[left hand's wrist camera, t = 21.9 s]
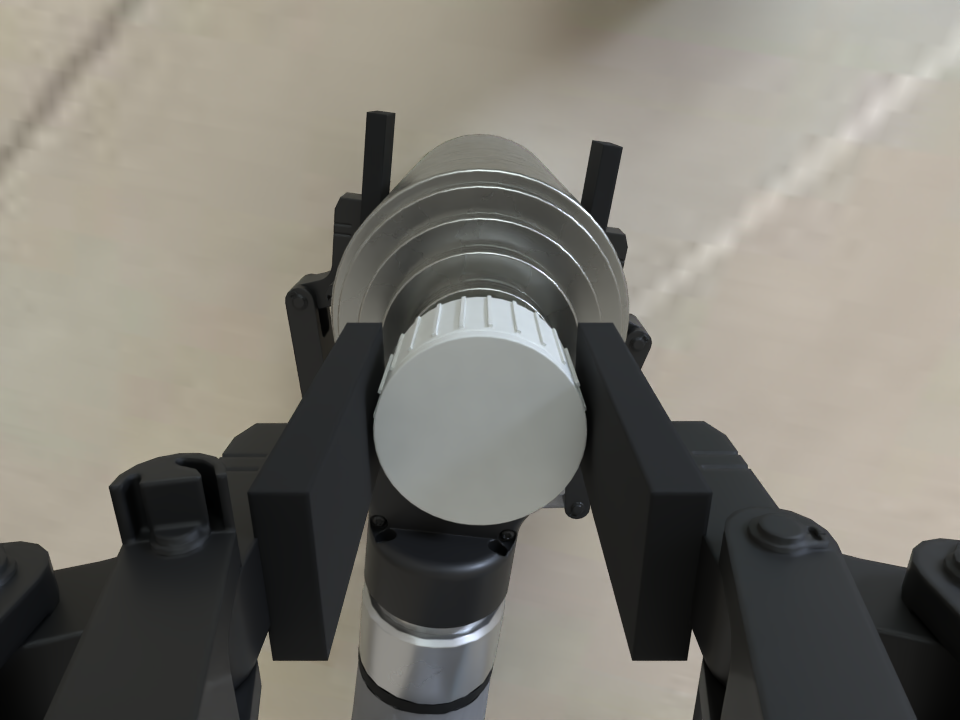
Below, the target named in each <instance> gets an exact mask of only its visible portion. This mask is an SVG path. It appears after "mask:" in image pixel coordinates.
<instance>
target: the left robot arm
mask: <svg viewBox="0 0 960 720" xmlns="http://www.w3.org/2000/svg"><path fill="white" fill-rule="evenodd" d="M384 372H385V363H384V345H383V328H382V323H346V325H345V327H344V329H343V330H342V332H341V334H340V335H339V337H338V339H337V340H336V342H335V344H334V346H333V347H332V349H331V351H330V352H329V354H328V356H327V357H326V359H325V361H324V363H323V364H322V366H321V368H320V369H319V371H318V373H317V374H316V376H315V378H314V380H313V381H312V383H311V385H310V386H309V388H308V390H307V391H306V393H305V395H304V397H303V398H302V400H301V402H300V403H299V405H298V407H297V408H296V410H295V412H294V414H293V415H292V417H291V419H290V420H289V422H288V423H256V424H255V425H253V426H251V427H250V428H248V429H247V430H245V431H244V432H242V433H241V434H239V435H238V436H236V437H234V439H233V440H232V441H231V443H230V444H229V446H228V447H227V448H226V450H225V451H224V453H223V456H222V457H220V458H219V459H218V458H216V457H214V456H210V455H206V454H201V453H178V454H173V455H168V456H162V457H157V458H154V459H152V460H149V461H146V462H143V463H140V464H138V465H136V466H134V467H132V468H131V469H129V470H127V471H125V472H124V473H122V474H120V475H119V476H118V477H117V478H116V479H115V480H114V481H113V483H112V484H111V485H110V486H109V490H110V494H111V498H112V502H113V507H114V511H115V515H116V519H117V523H118V527H119V531H120V535H121V539H122V543H123V545H122V547H121V549H120V552H119V554H118V556H117V557H115V558H111V559H108V560H104V561H100V562H95V563H90V564H85V565H80V566H75V567H70V568H65V569H60V570H55V571H54V570H53V567H52V564H51V560H50V557H49V554H48V552H47V551H46V550H45V549H44V548H42V547H41V546H40V545H39V544H34V543H28V542H22V541H19V542H8V543H0V720H258V714H259V704H260V695H261V679H260V673H259V667H258V661H257V658H258V656H259V653H260V651H261V648H262V645H263V643H264V640H265V638H266V635H267V633H268V632H269V638H270V645H271V651H272V658H273V661H328V658H329V654H330V650H331V646H332V643H333V639H334V635H335V632H336V628H337V624H338V621H339V617H340V613H341V609H342V606H343V602H344V598H345V595H346V591H347V587H348V584H349V580H350V576H351V572H352V569H353V565H354V561H355V558H356V554H357V550H358V546H359V543H360V539H361V535H362V532H363V528H364V524H365V521H366V517H367V513H368V509H369V506H370V502H371V498H372V495H373V491H374V487H375V484H376V480H377V476H378V472H379V469H380V462H379V459H378V456H377V453H376V450H375V444H374V439H373V423H374V418H373V414H374V411H375V408H376V405H377V402H378V399H379V396H380V394H379V393H377V392H378V389H379V387H380V384H381V381H382V378H383V375H384ZM575 372H576V375H577V378H578V380H579V383H580V386H579V387H580V390H581V393H582V396H583V399H584V402H585V405H586V409H587V410H586V411H585V414H586V419H587V440H586V447H585V451H584V455H583V458H582V460H581V463H580V469H581V472H582V476H583V480H584V484H585V487H586V491H587V495H588V498H589V502H590V506H591V509H592V513H593V517H594V521H595V524H596V528H597V532H598V535H599V539H600V543H601V547H602V550H603V554H604V558H605V561H606V565H607V569H608V572H609V576H610V580H611V584H612V587H613V591H614V595H615V598H616V602H617V606H618V609H619V613H620V617H621V621H622V624H623V628H624V632H625V635H626V639H627V643H628V647H629V650H630V654H631V658H632V661H687V658H688V651H689V645H690V638H691V632H692V630H693V632H694V635H695V637H696V640H697V642H698V645H699V647H700V650H701V652H702V655H703V661H702V667H701V673H700V679H699V685H698V691H697V697H696V703H695V709H694V715H693V720H960V540H952V539H942V538H939V539H933V540H927V541H922V542H921V543H920V544H918V545H917V546H916V547H915V548H913V550H912V553H911V557H910V560H909V564H908V567H907V568H905V567H900V566H895V565H890V564H885V563H880V562H875V561H870V560H865V559H860V558H856V557H852V556H848V555H844V554H842V553H841V550H840V548H839V546H838V544H837V542H836V541H835V540H834V539H833V537H832V536H831V535H830V533H829V532H828V531H827V530H826V529H824V528H823V527H821V526H820V525H818V524H817V523H815V522H814V521H813V520H811V519H809V518H806V517H804V516H802V515H799V514H797V513H794V512H792V511H788V510H783V509H779V508H778V506H777V505H776V504H775V502H774V501H773V499H772V498H771V497H770V495H769V494H768V493H767V491H766V490H765V488H764V487H763V486H762V484H761V483H760V482H759V480H758V479H757V477H756V476H755V475H754V473H753V472H752V471H751V469H748V465H747V464H746V462H745V461H744V459H743V458H742V457H741V455H738V451H737V450H736V448H735V447H734V446H733V444H732V443H731V442H730V440H729V439H728V437H727V436H726V435H725V434H723V433H722V432H720V431H718V430H717V429H715V428H714V427H712V426H711V425H709V424H707V423H706V422H704V421H671V420H670V419H669V417H668V415H667V414H666V412H665V410H664V408H663V407H662V405H661V403H660V402H659V400H658V398H657V397H656V395H655V393H654V391H653V390H652V388H651V386H650V385H649V383H648V381H647V380H646V378H645V376H644V374H643V373H642V371H641V369H640V368H639V366H638V364H637V363H636V361H635V359H634V357H633V356H632V354H631V352H630V351H629V349H628V347H627V346H626V344H625V342H624V340H623V339H622V337H621V335H620V334H619V332H618V330H617V329H616V327H615V325H614V323H578V328H577V345H576V362H575Z"/></svg>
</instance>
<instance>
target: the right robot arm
mask: <svg viewBox="0 0 960 720" xmlns="http://www.w3.org/2000/svg"><path fill="white" fill-rule="evenodd" d="M394 125H395V113H390V112H383V111H371V112H367V118H366V135H365V151H364V167H363V183H362V194H354V193H345V194H344V195H343V196H341V197H340V199H339V201H338V203H337V205H336V207H335V215H334V236H333V257H332V268H331V271H328V272H325V273H321V274H308V275H305V276H304V277H303V278H302V279H301V280H300V281H299V282H298V283H297V284H296V285H295V286H294V287H293V288H292V289H291V290H290V291H289V292H288V293H287V295H286V297H285V304H286V309H287V315H288V320H289V326H290V332H291V337H292V343H293V348H294V354H295V360H296V365H297V371H298V376H299V382H300V388H301V393H302V398H303V397H304V395H305V393H306V391H307V390H308V388H309V386H310V385H311V383H312V381H313V380H314V378H315V376H316V374H317V373H318V371H319V369H320V368H321V366H322V364H323V363H324V361H325V359H326V357H327V356H328V354H329V352H330V351H331V349H332V347H333V346H334V344H335V341H334V335H333V329H332V322H331V315H330V308H329V307H330V306H331V300H332V291H333V284H334V280H335V276H336V272H337V268H338V266H339V263H340V261H341V258H342V256H343V254H344V251H345V249H346V247H347V246H348V244H349V242H350V240H351V239H352V237H353V235H354V234H355V232H356V231H357V230H358V228H359V227H360V226H361V224H362V223H363V222H364V221H365V219H366V218H367V217H368V216H369V215H370V214H371V213H372V212H373V211H374V209H375V208H376V207H377V206H378V205H379V204H380V203H381V202H382V201H383V200H384V199H385V198H386V197H387V196H388V194H389V190H390V177H391V164H392V151H393V138H394ZM622 149H623V147H621V146H618V145H615V144H612V143H609V142H601V141H594V140H592V145H591V150H590V156H589V161H588V167H587V172H586V178H585V183H584V189H583V194H582V199H581V205H582V206H583V207H584V208H585V209H586V210H587V211H588V212H589V214H590V215H591V216H592V217H593V218H594V219H595V221H596V222H597V223H598V224H599V225H600V227H601V228H602V229H603V230H604V232H605V234H606V235H607V237H608V238H609V240H610V242H611V243H612V245H613V247H614V249H615V251H616V253H617V256H618V258H619V260H620V263H621V265H622V269H623V267H624V261H625V257H626V253H627V248H628V246H627V241H626V235H625V234H624V233H623V232H622V231H621V230H620V229H619V228H612V227H607V224H608V219H609V214H610V209H611V204H612V199H613V194H614V189H615V184H616V179H617V174H618V169H619V164H620V159H621V154H622ZM625 344H626V346H627V347H628V349H629V351H630V352H631V354H632V356H633V357H634V359H635V361H636V363H637V364H638V366H639V368H640V369H641V368H642V366H643V363H644V361H645V359H646V357H647V355H648V352H649V350H650V348H651V344H652V341H651V337H650V336H649V335H648V333H647V332H646V330H645V329H644V327H643V326H642V324H641V323H640V322H639V320H638V319H637V318H636V316H634V315H632V314H629V323H628V330H627V337H626V341H625ZM542 508H565V513H566V514H567V515H568V516H569V517H571V518H573V519H580V518H583V517H585V516H586V515H587V514H588V513H589V510H590V502H589V498H588V495H587V491H586V487H585V484H584V480H583V476H582V472H581V469H580V465H579V468H578V469H577V471H576V473H575V475H574V476H573V478H572V480H571V481H570V482H569V483H568V485H567V486H566V487H565V489H564V490H563V491H562V492H561V493H560V494H559V495H558V496H557V497H556V498H554V499H553V500H552V501H551V502H549V503H548V504H547V505H545V506H544V507H542ZM368 511H369V519H368V532H367V544H366V557H365V570H364V577H365V583H364V587H363V592H362V607H361V621H360V635H359V653H358V659H359V661H358V670H357V679H356V687H355V696H354V705H353V712H352V719H351V720H485V712H486V705H487V698H488V691H489V683H490V677H491V673H492V669H493V664H494V660H495V657H496V652H497V646H498V641H499V635H500V630H501V625H502V619H503V614H504V606H505V596H506V594H507V590H508V585H509V579H510V574H511V568H512V563H513V557H514V552H515V546H516V541H517V535H518V531H519V528H520V526H521V524H522V522H523V521H524V520H525V519H526V518H527V517H528V516H529V515H530V514H529V515H527V516H525V517H522V518H519V519H516V520H513V521H510V522H505V523H500V524H492V525H468V524H460V523H455V522H451V521H447V520H444V519H441V518H438V517H436V516H433V515H431V514H429V513H427V512H425V511H423V510H421V509H420V508H418V507H417V506H415V505H414V504H412V503H411V502H410V501H408V500H407V499H406V498H405V497H404V496H403V495H401V494H400V492H399V491H398V490H397V489H396V488H395V487H394V486H393V485H392V483H391V482H390V480H389V479H388V477H387V476H386V474H385V472H384V470H383V468H382V467H381V465H380V469H379V472H378V476H377V480H376V484H375V487H374V491H373V495H372V498H371V502H370V506H369V509H368Z"/></svg>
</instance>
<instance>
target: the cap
mask: <svg viewBox="0 0 960 720" xmlns="http://www.w3.org/2000/svg"><path fill="white" fill-rule="evenodd" d="M579 386H580V383H579V380H578V378H577V375H576V372H575V369H574V366H573V363H572V360H571V357H570V354H569V352H568V349H567V348H565V349H564V347H563V345H562V343H561V341H560V340H559V338H558V335H557V332H556V330H555V328H553V329H551V328H550V327H549V326H548V324H547V323H546V322H545V321H544V320H542V319H541V318H540V317H539V314H538V313H537V312H535V313H533V312H531V311H530V310H528V309H526V308H525V307H522V306H520V305H518V304H517V303H516V301H512V302H509V301H506V300H503V299H497V298H491V296H489V295H487V297H471V298H466V296H463V297H462V298H461V299H458V300H454V301H451V302H448V303H445V304H442V305H441V303H440V304H437V307H436V308H434V309H432V310H430V311H429V312H427V313H426V314H425V315H423V316H422V317H420V316H418V317H417V318H416V321H415V323H414V324H413V325H412V326H411V327H410V328H409V329H408V330H407V332H406V333H405V334H403V333H402V334H401V335H400V338H399V341H398V344H397V347H396V350H395V353H394V355H393V354H391V355H390V358H389V361H388V363H387V366H386V369H385V372H384V375H383V378H382V381H381V384H380V387H379V389H378V392H377V393H379V394H380V396H379V399H378V402H377V405H376V408H375V411H374V414H373V418H374V423H373V439H374V444H375V450H376V453H377V456H378V459H379V462H380V465H381V467H382V468H383V470H384V472H385V474H386V476H387V477H388V479H389V480H390V482H391V483H392V485H393V486H394V487H395V488H396V489H397V490H398V491H399V492H400V494H401V495H403V496H404V497H405V498H406V499H407V500H408V501H410V502H411V503H412V504H414V505H415V506H417V507H418V508H420V509H421V510H423V511H425V512H427V513H429V514H431V515H433V516H436V517H438V518H441V519H444V520H447V521H451V522H455V523H460V524H468V525H492V524H500V523H505V522H510V521H513V520H516V519H519V518H522V517H525V516H527V515H529V514H531V513H534V512H535V511H537V510H539V509H540V508H542V507H544V506H545V505H547V504H548V503H549V502H551V501H552V500H553V499H554V498H556V497H557V496H558V495H559V494H560V493H561V492H562V491H563V490H564V489H565V487H566V486H567V485H568V483H569V482H570V481H571V480H572V478H573V476H574V475H575V473H576V471H577V469H578V468H579V465H580V463H581V460H582V458H583V455H584V451H585V447H586V440H587V419H586V414H585V411H586V410H587V409H586V405H585V402H584V399H583V396H582V393H581V390H580V387H579Z"/></svg>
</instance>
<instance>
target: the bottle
mask: <svg viewBox="0 0 960 720" xmlns="http://www.w3.org/2000/svg"><path fill="white" fill-rule="evenodd" d="M487 295H489V296H491V298H497V299H503V300H506V301H509V302H512V301H516V303H517V304H518V305H520V306H522V307H525V308H526V309H528V310H530V311H531V312H533V313H535V312H537V313H538V314H539V317H540V318H541V319H542V320H544V321H545V322H546V323H547V324H548V326H549V327H550V328H551V329H553V328H555V330H556V332H557V335H558V338H559V340H560V341H561V343H562V345H563V347H564V349H565V348H567V349H568V352H569V354H570V357H571V360H572V363H573V366H574V369H575V362H576V345H577V328H578V323H614V325H615V327H616V329H617V330H618V332H619V334H620V335H621V337H622V339H623V340H624V342H625V341H626V337H627V330H628V323H629V298H628V290H627V283H626V279H625V276H624V272H623V269H622V265H621V263H620V260H619V258H618V256H617V253H616V251H615V249H614V247H613V245H612V243H611V242H610V240H609V238H608V237H607V235H606V234H605V232H604V230H603V229H602V228H601V227H600V225H599V224H598V223H597V222H596V221H595V219H594V218H593V217H592V216H591V215H590V214H589V212H588V211H587V210H586V209H585V208H584V207H583V206H582V205H581V204H580V203H579V202H578V201H577V200H576V199H575V197H574V196H573V195H572V194H571V193H570V192H569V191H568V190H567V189H566V188H565V187H564V186H563V185H562V184H561V183H560V181H559V180H558V179H557V178H556V177H555V176H554V175H553V174H552V173H551V172H550V171H549V170H548V169H547V168H546V167H545V165H544V164H543V163H542V162H541V161H540V160H539V159H538V158H537V157H536V156H535V155H533V154H532V153H531V152H530V151H529V150H527V149H526V148H524V147H523V146H521V145H519V144H517V143H515V142H513V141H511V140H508V139H505V138H502V137H498V136H493V135H483V134H476V135H466V136H462V137H458V138H455V139H452V140H449V141H447V142H445V143H443V144H441V145H439V146H437V147H436V148H434V149H433V150H432V151H430V152H429V153H428V154H426V155H425V156H424V157H423V158H422V159H421V160H420V161H419V162H418V163H417V164H416V166H415V167H414V168H413V169H412V170H411V171H410V172H409V173H408V174H407V175H406V176H405V177H404V178H403V179H402V181H401V182H400V183H399V184H398V185H397V186H396V187H395V188H394V189H393V190H392V191H391V192H390V193H389V194H388V196H387V197H386V198H385V199H384V200H383V201H382V202H381V203H380V204H379V205H378V206H377V207H376V208H375V209H374V211H373V212H372V213H371V214H370V215H369V216H368V217H367V218H366V219H365V221H364V222H363V223H362V224H361V226H360V227H359V228H358V230H357V231H356V232H355V234H354V235H353V237H352V239H351V240H350V242H349V244H348V246H347V247H346V249H345V251H344V254H343V256H342V258H341V261H340V263H339V266H338V268H337V272H336V276H335V280H334V284H333V291H332V300H331V322H332V329H333V335H334V341H335V342H336V340H337V339H338V337H339V335H340V334H341V332H342V330H343V329H344V327H345V325H346V323H382V328H383V345H384V363H385V369H386V366H387V363H388V361H389V358H390V355H391V354H393V355H394V353H395V350H396V347H397V344H398V341H399V338H400V335H401V334H402V333H403V334H405V333H406V332H407V330H408V329H409V328H410V327H411V326H412V325H413V324H414V323H415V321H416V318H417V317H418V316H420V317H422V316H423V315H425V314H426V313H427V312H429V311H430V310H432V309H434V308H436V307H437V304H440V303H441V305H442V304H445V303H448V302H451V301H454V300H458V299H461V298H462V297H463V296H466V298H471V297H487Z"/></svg>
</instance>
